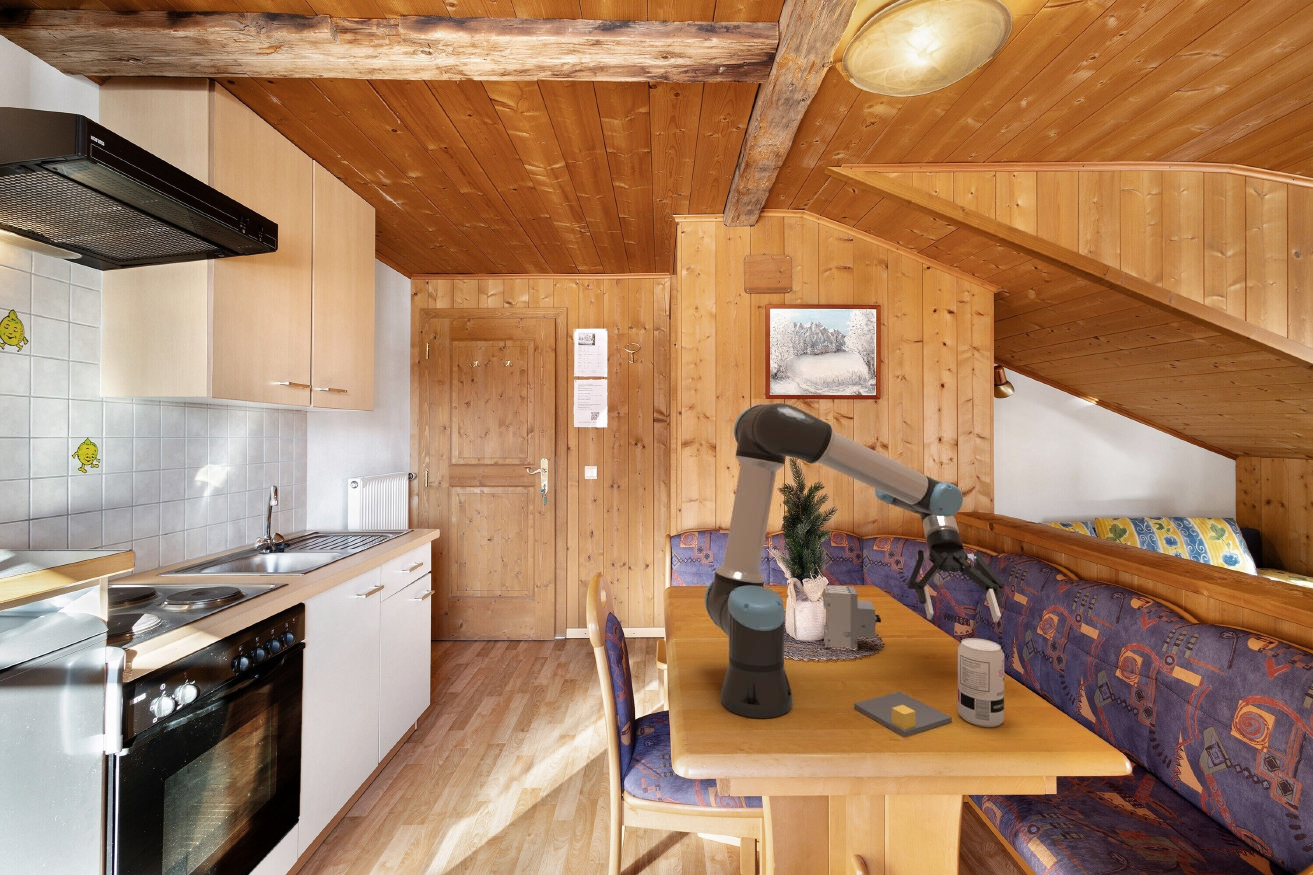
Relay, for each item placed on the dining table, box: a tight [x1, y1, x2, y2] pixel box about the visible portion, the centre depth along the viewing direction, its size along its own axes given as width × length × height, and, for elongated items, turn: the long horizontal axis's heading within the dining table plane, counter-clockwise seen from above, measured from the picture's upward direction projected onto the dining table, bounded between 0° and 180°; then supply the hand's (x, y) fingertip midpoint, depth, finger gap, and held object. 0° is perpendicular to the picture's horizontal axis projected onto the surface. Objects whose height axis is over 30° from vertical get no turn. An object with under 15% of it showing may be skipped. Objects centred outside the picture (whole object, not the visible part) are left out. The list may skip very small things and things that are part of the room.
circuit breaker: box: [822, 585, 882, 649], centre depth 161 cm, size 8×14×15 cm, turn 78°
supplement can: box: [957, 637, 1005, 728], centre depth 121 cm, size 8×8×15 cm
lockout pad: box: [853, 691, 953, 738], centre depth 122 cm, size 13×13×4 cm
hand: (963, 617), depth 131 cm, fingers open, 13 cm apart
